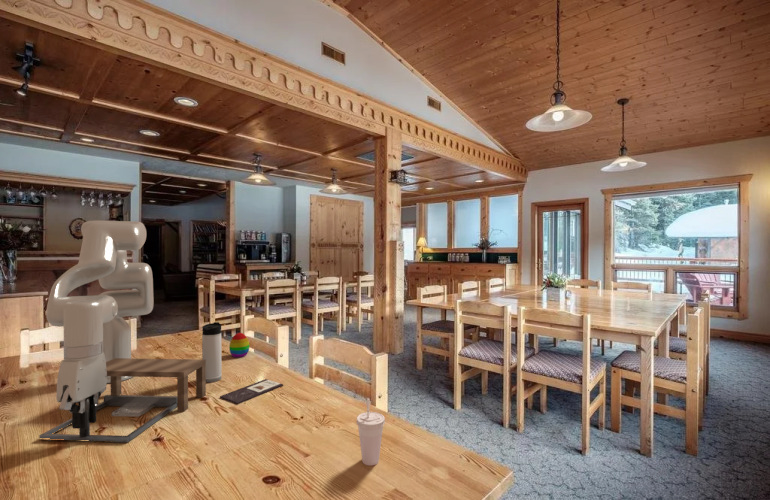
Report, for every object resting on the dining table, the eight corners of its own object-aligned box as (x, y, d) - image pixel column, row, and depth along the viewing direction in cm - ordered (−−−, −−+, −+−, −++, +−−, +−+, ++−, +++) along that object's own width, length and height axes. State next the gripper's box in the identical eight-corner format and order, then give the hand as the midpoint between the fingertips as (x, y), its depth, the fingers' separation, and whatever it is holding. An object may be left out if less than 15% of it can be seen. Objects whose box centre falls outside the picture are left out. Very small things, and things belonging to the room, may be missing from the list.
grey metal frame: (37, 441, 91) (36, 393, 91) (106, 404, 113) (106, 365, 112) (125, 443, 90) (125, 395, 90) (178, 405, 112) (178, 366, 112)
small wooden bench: (84, 409, 109) (83, 370, 109) (115, 393, 121) (115, 358, 121) (184, 411, 108) (183, 372, 108) (205, 395, 120) (205, 359, 120)
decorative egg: (252, 355, 163) (252, 332, 163) (235, 359, 157) (234, 336, 157) (243, 351, 169) (243, 329, 169) (225, 355, 163) (225, 333, 163)
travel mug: (225, 376, 137) (225, 322, 137) (215, 383, 131) (215, 326, 130) (209, 375, 138) (209, 321, 138) (198, 382, 131) (198, 325, 131)
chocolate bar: (219, 396, 118) (265, 379, 133) (219, 399, 118) (265, 381, 133) (237, 403, 113) (283, 384, 128) (237, 406, 113) (283, 387, 128)
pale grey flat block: (111, 417, 105) (111, 412, 105) (127, 408, 111) (127, 403, 111) (139, 418, 105) (139, 412, 105) (153, 408, 111) (153, 403, 111)
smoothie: (356, 453, 87) (356, 393, 87) (383, 452, 87) (383, 392, 87) (356, 469, 80) (356, 405, 80) (386, 468, 81) (386, 404, 81)
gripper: (95, 341, 99) (96, 410, 100) (37, 360, 84) (38, 441, 84) (122, 342, 99) (123, 411, 99) (70, 361, 83) (70, 442, 84)
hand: (84, 424), depth 92 cm, fingers closed on grey metal frame, 2 cm apart
